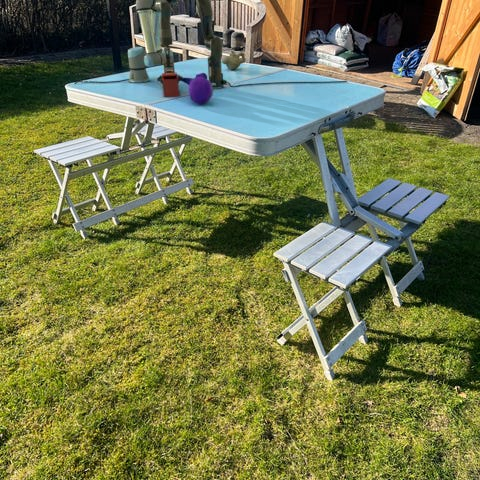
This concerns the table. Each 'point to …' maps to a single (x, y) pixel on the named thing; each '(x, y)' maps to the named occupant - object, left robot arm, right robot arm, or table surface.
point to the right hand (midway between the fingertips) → (168, 66)
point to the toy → (199, 88)
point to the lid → (169, 73)
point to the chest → (170, 86)
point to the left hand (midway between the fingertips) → (170, 81)
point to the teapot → (233, 60)
